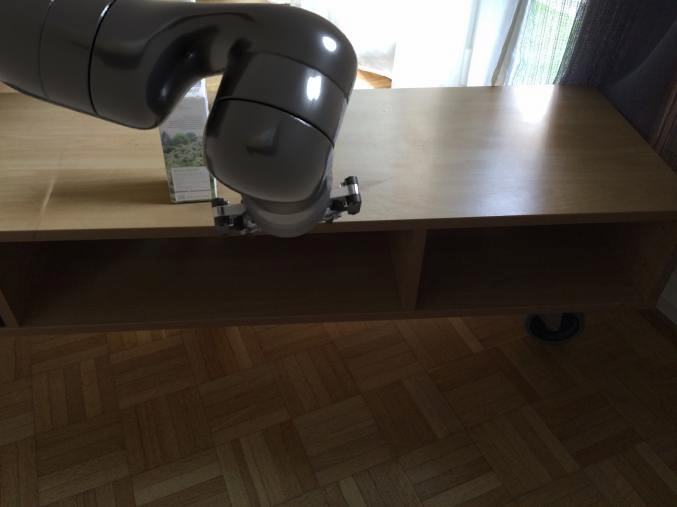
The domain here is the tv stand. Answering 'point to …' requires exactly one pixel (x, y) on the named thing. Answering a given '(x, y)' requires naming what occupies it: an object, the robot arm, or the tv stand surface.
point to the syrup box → (187, 149)
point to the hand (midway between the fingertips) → (288, 221)
